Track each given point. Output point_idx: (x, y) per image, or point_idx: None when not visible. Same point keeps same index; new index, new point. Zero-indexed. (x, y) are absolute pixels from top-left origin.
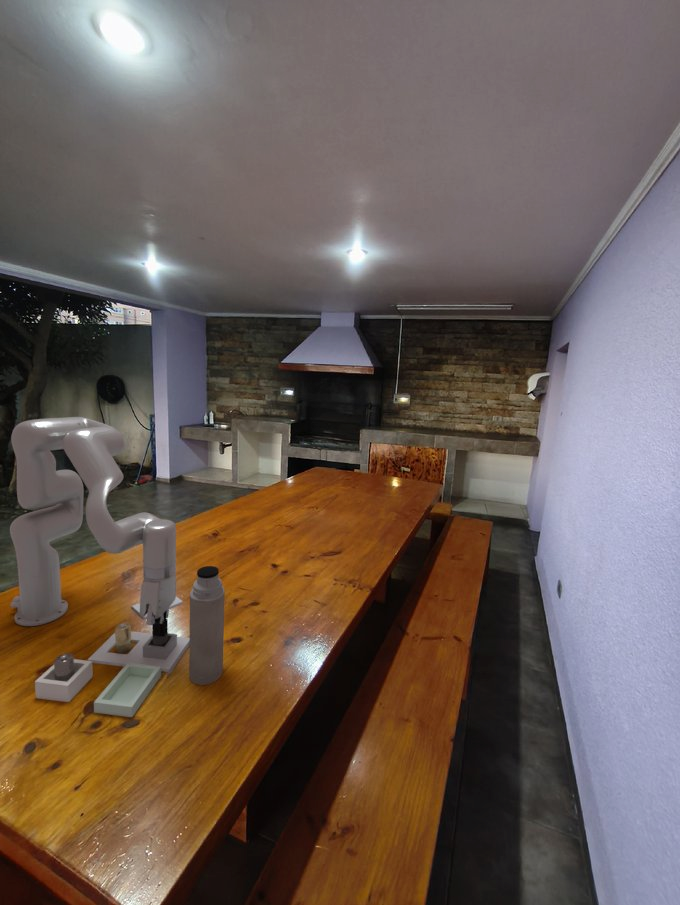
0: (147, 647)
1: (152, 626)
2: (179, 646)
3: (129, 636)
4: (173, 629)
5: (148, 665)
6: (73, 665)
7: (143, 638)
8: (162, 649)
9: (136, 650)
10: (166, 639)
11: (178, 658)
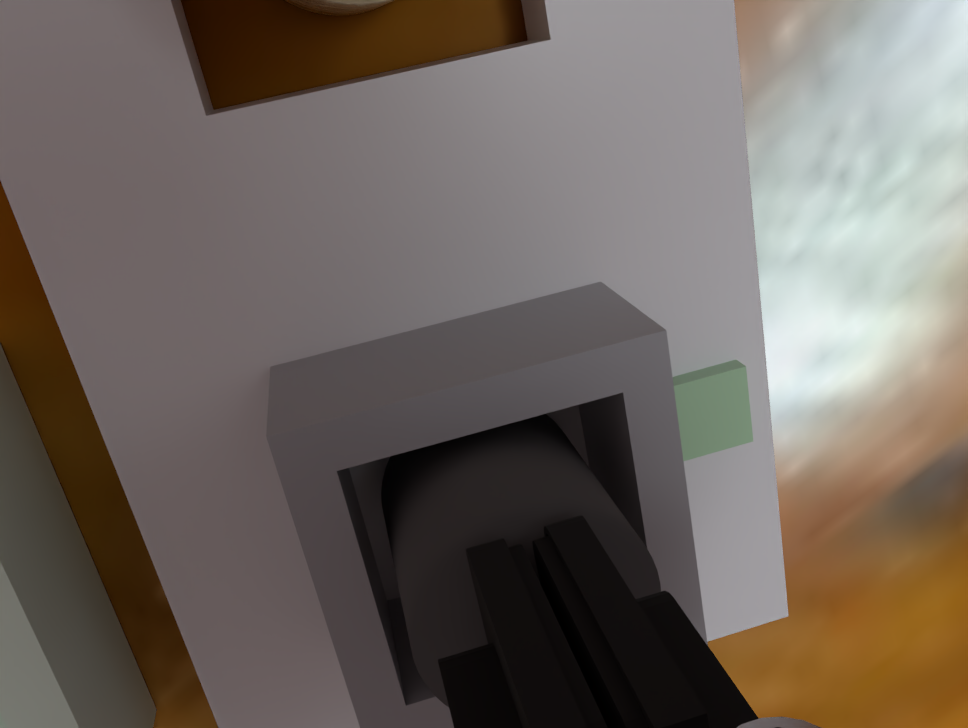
0: (291, 508)
1: (507, 658)
2: None
3: (372, 2)
4: (933, 226)
5: (60, 704)
6: None
7: (606, 59)
8: (357, 711)
9: (342, 172)
10: None
11: None
